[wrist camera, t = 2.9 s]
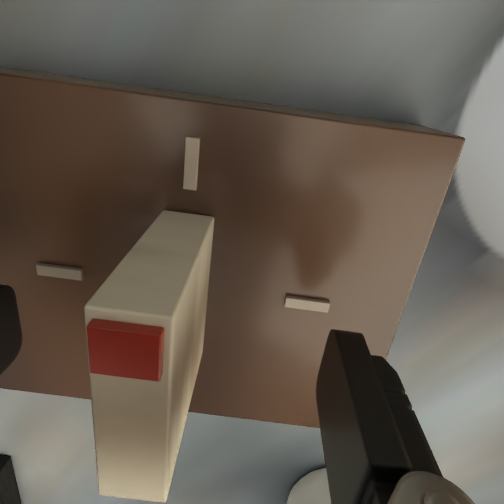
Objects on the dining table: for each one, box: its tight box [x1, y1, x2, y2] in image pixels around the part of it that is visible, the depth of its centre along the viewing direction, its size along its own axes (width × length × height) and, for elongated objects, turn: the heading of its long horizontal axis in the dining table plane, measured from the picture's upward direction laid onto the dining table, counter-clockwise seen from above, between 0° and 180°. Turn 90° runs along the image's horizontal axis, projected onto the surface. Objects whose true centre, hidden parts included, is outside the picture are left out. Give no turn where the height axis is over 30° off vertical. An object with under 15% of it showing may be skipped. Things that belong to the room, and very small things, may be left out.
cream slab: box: [84, 210, 214, 503], centre depth 9 cm, size 5×2×5 cm, turn 173°
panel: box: [0, 67, 465, 428], centre depth 13 cm, size 14×11×3 cm
